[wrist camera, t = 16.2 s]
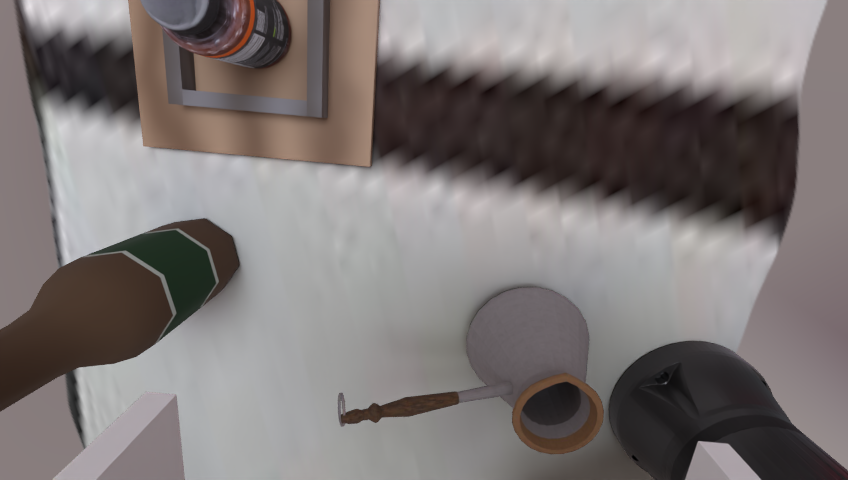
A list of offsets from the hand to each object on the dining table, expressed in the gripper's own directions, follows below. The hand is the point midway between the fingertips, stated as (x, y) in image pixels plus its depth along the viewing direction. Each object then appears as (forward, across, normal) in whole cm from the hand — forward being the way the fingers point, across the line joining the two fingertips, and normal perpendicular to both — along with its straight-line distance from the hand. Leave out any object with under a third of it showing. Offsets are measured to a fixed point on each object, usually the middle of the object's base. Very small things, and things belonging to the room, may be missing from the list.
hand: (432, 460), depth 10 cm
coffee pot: (+29, -5, +11) cm, 31 cm away
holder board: (+29, +16, -14) cm, 36 cm away
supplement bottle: (+28, +16, -14) cm, 35 cm away
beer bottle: (+29, +22, +6) cm, 37 cm away
